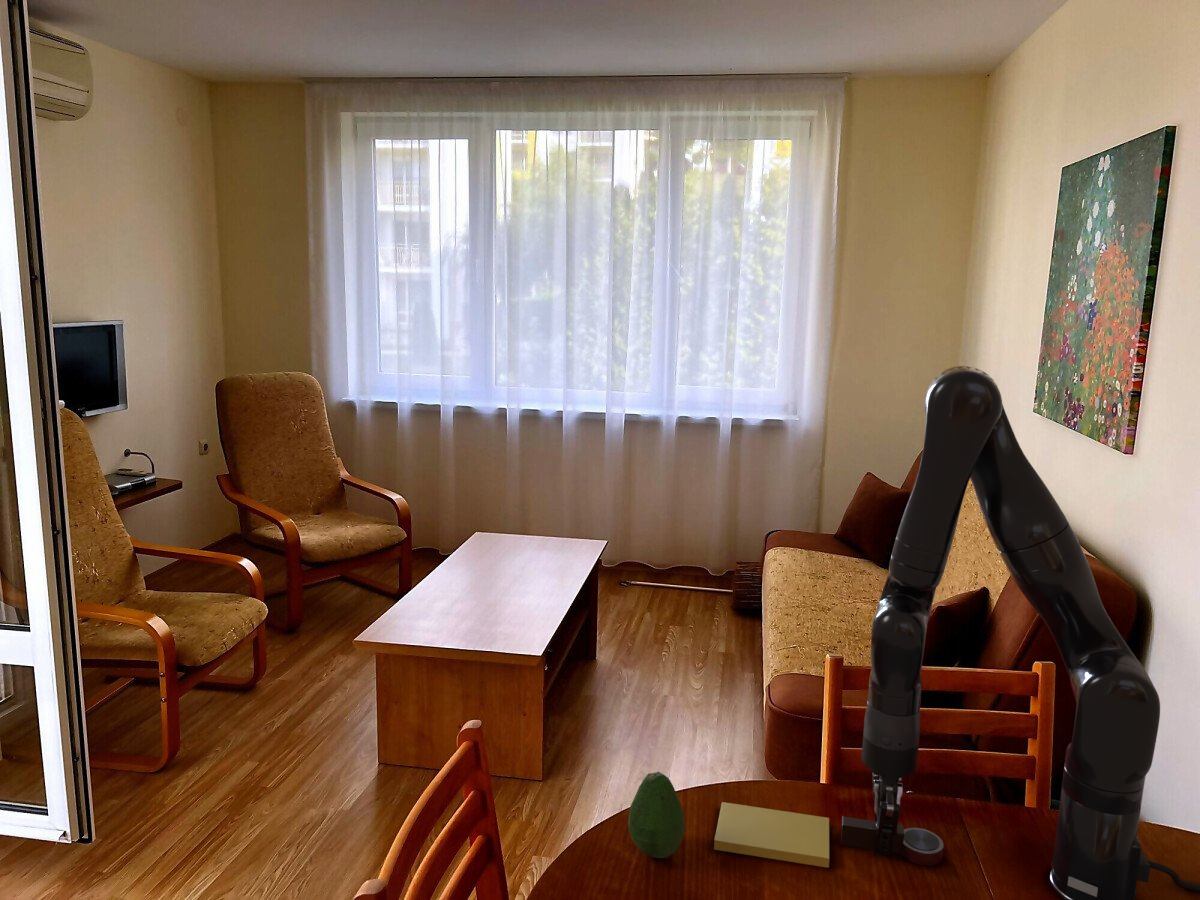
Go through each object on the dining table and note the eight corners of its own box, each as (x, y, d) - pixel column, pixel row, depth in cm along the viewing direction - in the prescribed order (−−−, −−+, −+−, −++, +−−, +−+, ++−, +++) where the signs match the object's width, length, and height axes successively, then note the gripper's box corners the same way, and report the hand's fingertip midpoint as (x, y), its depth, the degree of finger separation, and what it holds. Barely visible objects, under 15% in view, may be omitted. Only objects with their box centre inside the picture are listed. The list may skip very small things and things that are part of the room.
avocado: (661, 830, 134) (663, 755, 132) (694, 858, 128) (697, 781, 126) (616, 847, 130) (618, 771, 128) (648, 878, 124) (650, 798, 121)
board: (828, 826, 136) (829, 817, 136) (828, 868, 126) (829, 858, 126) (721, 810, 140) (722, 801, 139) (714, 849, 130) (714, 840, 130)
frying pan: (939, 843, 132) (941, 823, 132) (945, 869, 127) (947, 848, 126) (840, 828, 136) (842, 809, 135) (841, 852, 130) (842, 832, 129)
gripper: (924, 763, 120) (914, 879, 124) (914, 714, 134) (905, 820, 137) (865, 756, 122) (856, 870, 125) (861, 708, 136) (853, 812, 139)
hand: (882, 843), depth 131 cm, fingers open, 3 cm apart
